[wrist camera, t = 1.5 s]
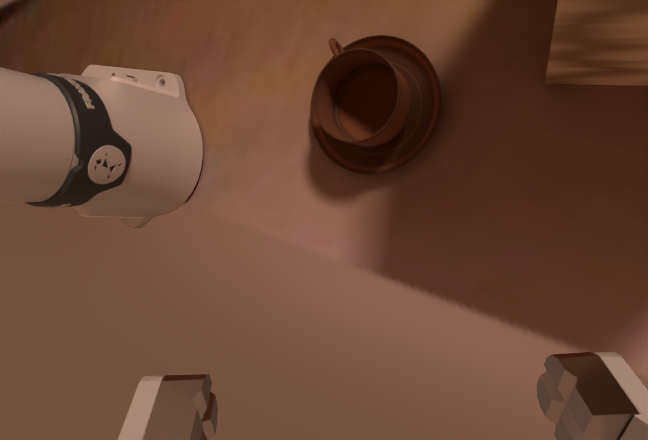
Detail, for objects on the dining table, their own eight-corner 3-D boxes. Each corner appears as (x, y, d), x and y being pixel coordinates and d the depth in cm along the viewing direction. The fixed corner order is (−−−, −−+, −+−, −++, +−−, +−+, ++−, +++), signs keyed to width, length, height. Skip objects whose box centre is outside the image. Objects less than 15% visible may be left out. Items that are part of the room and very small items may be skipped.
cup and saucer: (296, 119, 44) (263, 108, 38) (375, 15, 40) (350, -14, 34) (380, 201, 40) (356, 202, 35) (475, 97, 36) (465, 79, 31)
